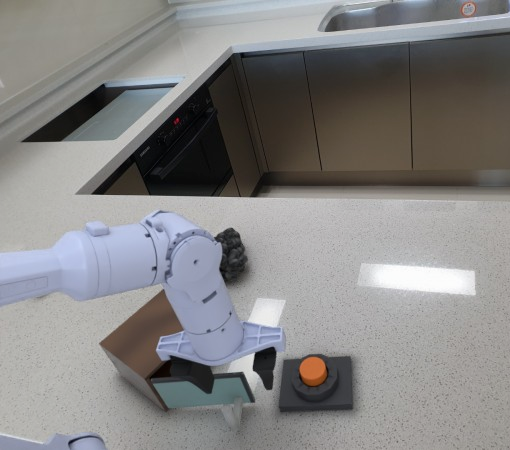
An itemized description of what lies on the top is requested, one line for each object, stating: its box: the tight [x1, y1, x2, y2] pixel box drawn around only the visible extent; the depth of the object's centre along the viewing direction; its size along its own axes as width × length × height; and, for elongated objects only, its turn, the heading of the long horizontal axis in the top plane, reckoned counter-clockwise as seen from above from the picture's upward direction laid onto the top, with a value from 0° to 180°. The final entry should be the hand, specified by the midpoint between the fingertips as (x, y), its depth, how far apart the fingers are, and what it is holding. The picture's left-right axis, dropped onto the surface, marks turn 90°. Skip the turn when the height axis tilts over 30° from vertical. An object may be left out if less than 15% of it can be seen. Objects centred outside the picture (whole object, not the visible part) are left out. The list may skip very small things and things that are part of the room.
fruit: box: [213, 227, 249, 282], centre depth 88 cm, size 9×8×15 cm
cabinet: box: [98, 288, 184, 412], centre depth 71 cm, size 12×14×8 cm
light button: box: [300, 357, 327, 386], centre depth 64 cm, size 4×4×2 cm
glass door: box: [151, 371, 256, 433], centre depth 61 cm, size 5×13×7 cm, turn 88°
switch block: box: [278, 353, 354, 412], centre depth 65 cm, size 10×8×3 cm
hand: (240, 384), depth 57 cm, fingers open, 7 cm apart
